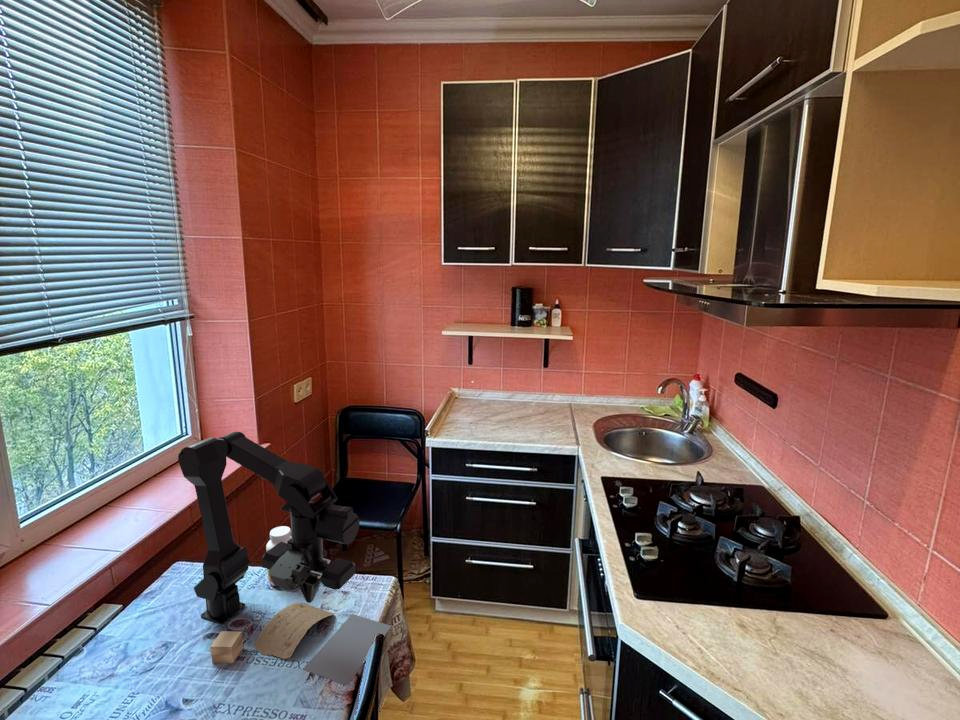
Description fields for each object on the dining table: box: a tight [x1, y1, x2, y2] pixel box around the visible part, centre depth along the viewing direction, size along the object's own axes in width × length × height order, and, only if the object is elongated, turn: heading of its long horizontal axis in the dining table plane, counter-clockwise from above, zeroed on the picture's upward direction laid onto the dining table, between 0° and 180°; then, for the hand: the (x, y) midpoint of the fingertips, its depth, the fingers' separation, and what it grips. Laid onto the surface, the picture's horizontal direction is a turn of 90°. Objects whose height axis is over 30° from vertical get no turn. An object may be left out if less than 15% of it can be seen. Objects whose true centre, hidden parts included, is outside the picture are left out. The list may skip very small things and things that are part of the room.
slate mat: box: [302, 613, 393, 686], centre depth 99 cm, size 10×16×1 cm, turn 160°
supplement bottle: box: [265, 525, 292, 587], centre depth 119 cm, size 7×7×13 cm
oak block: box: [210, 630, 244, 664], centre depth 96 cm, size 4×4×4 cm
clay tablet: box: [253, 602, 335, 659], centre depth 103 cm, size 14×10×3 cm
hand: (309, 601), depth 100 cm, fingers closed
